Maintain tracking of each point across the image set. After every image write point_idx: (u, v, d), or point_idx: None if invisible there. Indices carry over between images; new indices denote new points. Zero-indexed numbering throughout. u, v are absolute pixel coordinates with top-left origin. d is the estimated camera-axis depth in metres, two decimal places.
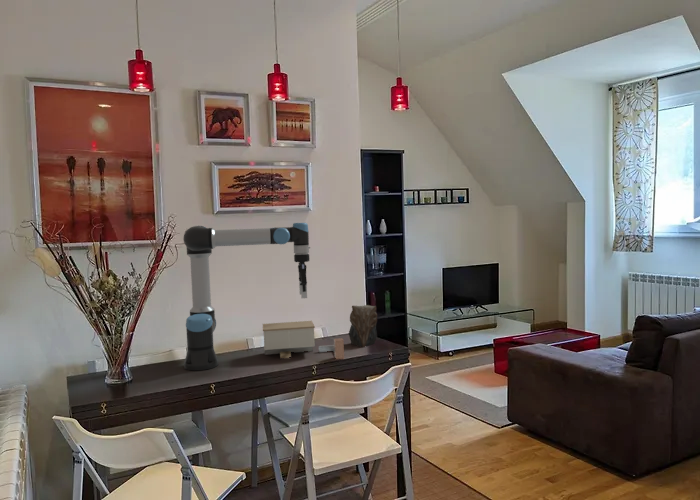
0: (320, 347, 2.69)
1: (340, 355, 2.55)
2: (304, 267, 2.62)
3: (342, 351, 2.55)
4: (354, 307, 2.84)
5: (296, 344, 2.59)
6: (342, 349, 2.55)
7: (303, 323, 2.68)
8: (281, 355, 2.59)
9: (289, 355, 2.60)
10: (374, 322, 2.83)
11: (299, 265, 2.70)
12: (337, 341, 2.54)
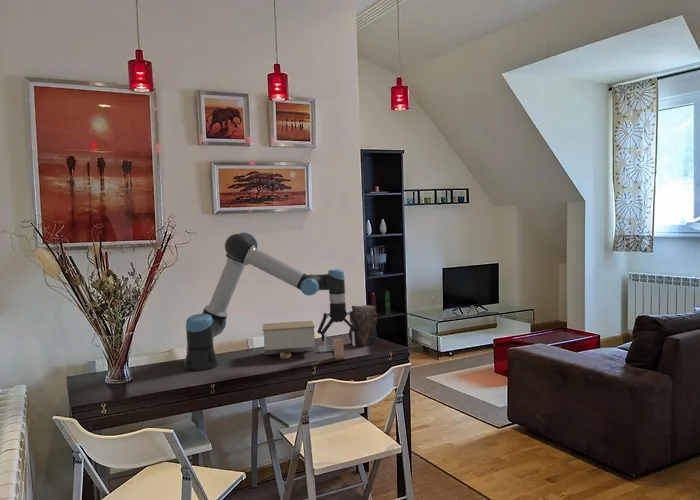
0: (320, 347, 2.69)
1: (340, 355, 2.55)
2: (323, 316, 2.54)
3: (342, 351, 2.55)
4: (354, 307, 2.84)
5: (296, 344, 2.59)
6: (342, 349, 2.55)
7: (303, 323, 2.68)
8: (281, 355, 2.59)
9: (289, 355, 2.60)
10: (374, 322, 2.83)
11: None
12: (337, 341, 2.54)
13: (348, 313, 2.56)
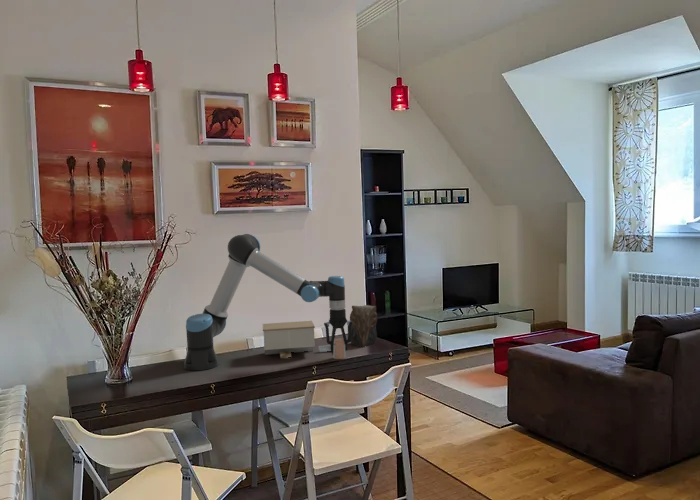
0: (320, 347, 2.69)
1: (340, 355, 2.55)
2: (325, 326, 2.55)
3: (342, 351, 2.55)
4: (354, 307, 2.84)
5: (296, 344, 2.59)
6: (342, 349, 2.55)
7: (303, 323, 2.68)
8: (281, 355, 2.59)
9: (289, 355, 2.60)
10: (374, 322, 2.83)
11: None
12: (337, 341, 2.54)
13: (348, 322, 2.56)
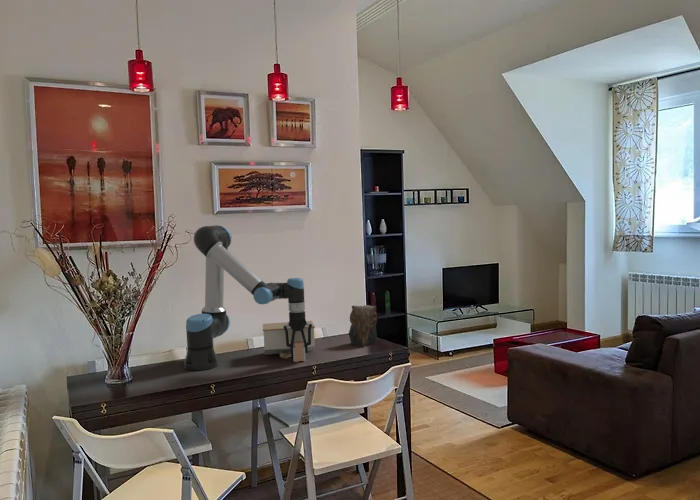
0: (282, 350, 2.66)
1: (300, 358, 2.52)
2: None
3: (302, 354, 2.52)
4: (354, 307, 2.84)
5: None
6: (302, 352, 2.52)
7: None
8: (281, 355, 2.59)
9: (289, 355, 2.60)
10: (374, 322, 2.83)
11: None
12: (297, 344, 2.51)
13: (307, 324, 2.53)
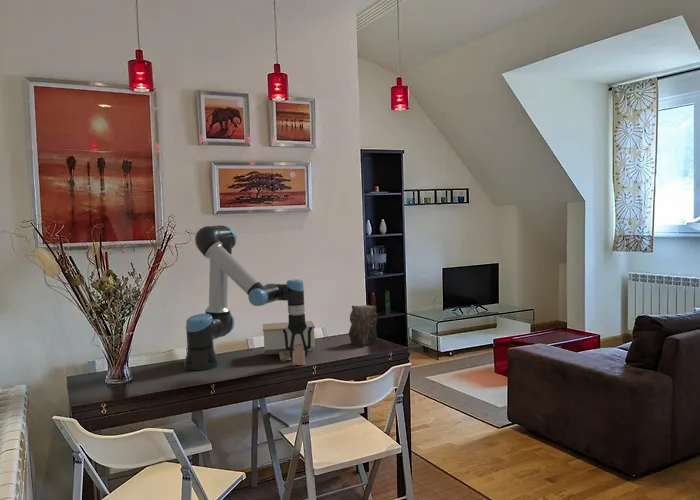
0: (281, 352, 2.59)
1: (299, 362, 2.46)
2: None
3: (301, 357, 2.46)
4: (354, 307, 2.84)
5: None
6: (301, 355, 2.45)
7: None
8: (281, 357, 2.54)
9: (289, 357, 2.55)
10: (374, 322, 2.83)
11: None
12: (296, 347, 2.45)
13: (307, 327, 2.47)
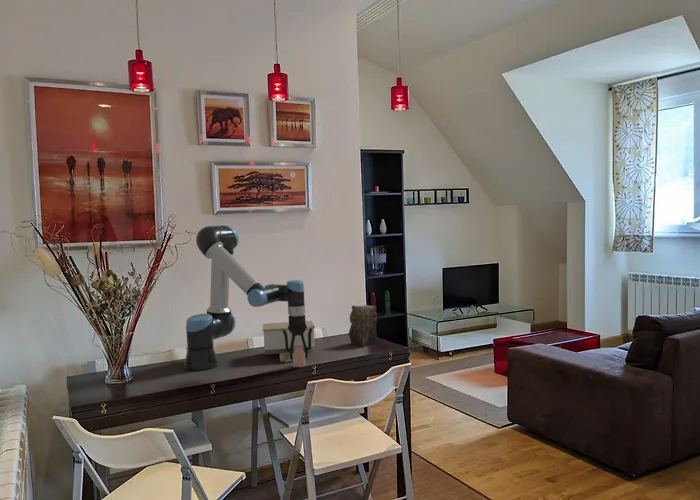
0: (281, 354, 2.57)
1: (300, 363, 2.43)
2: (284, 333, 2.42)
3: (302, 359, 2.43)
4: (354, 307, 2.84)
5: (296, 344, 2.59)
6: (302, 357, 2.43)
7: None
8: (281, 359, 2.52)
9: (289, 359, 2.53)
10: (374, 322, 2.83)
11: None
12: (296, 348, 2.42)
13: (308, 328, 2.44)
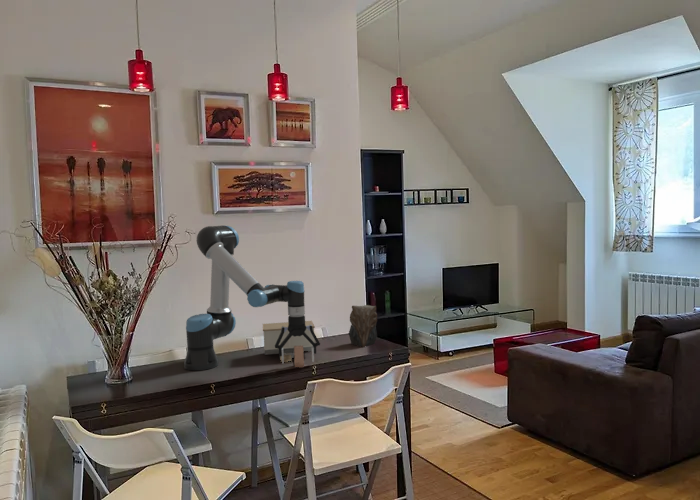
0: None
1: (300, 363, 2.43)
2: (281, 330, 2.42)
3: (302, 359, 2.43)
4: (354, 307, 2.84)
5: (296, 344, 2.59)
6: (302, 357, 2.43)
7: None
8: (281, 359, 2.52)
9: (289, 359, 2.53)
10: (374, 322, 2.83)
11: None
12: (296, 348, 2.42)
13: (307, 327, 2.44)
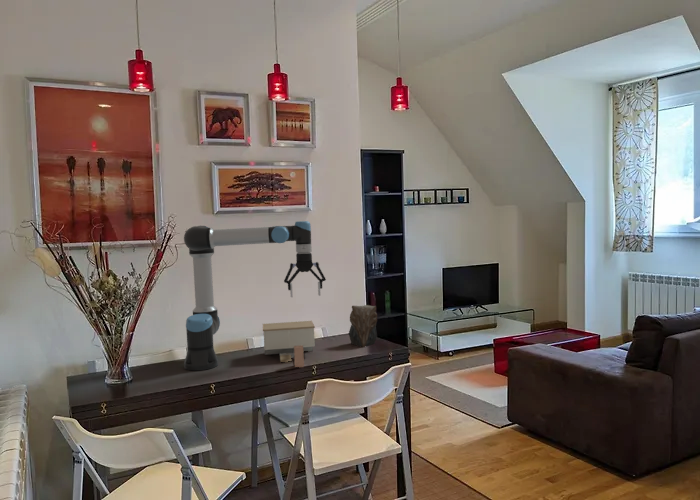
0: (281, 354, 2.57)
1: (300, 363, 2.43)
2: (290, 266, 2.62)
3: (302, 359, 2.43)
4: (354, 307, 2.84)
5: (296, 344, 2.59)
6: (302, 357, 2.43)
7: (303, 323, 2.68)
8: (281, 359, 2.52)
9: (290, 359, 2.53)
10: (374, 322, 2.83)
11: None
12: (296, 348, 2.43)
13: (314, 264, 2.64)
